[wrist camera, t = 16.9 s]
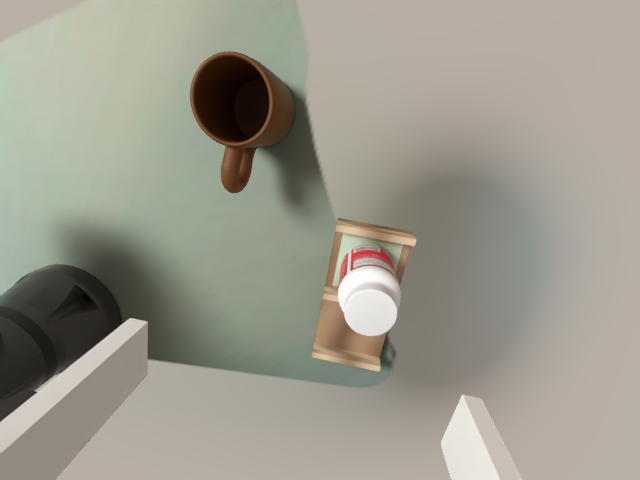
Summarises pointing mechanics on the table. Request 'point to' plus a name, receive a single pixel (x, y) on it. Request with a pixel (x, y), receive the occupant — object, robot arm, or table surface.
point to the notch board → (333, 330)
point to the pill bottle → (368, 289)
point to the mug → (240, 111)
